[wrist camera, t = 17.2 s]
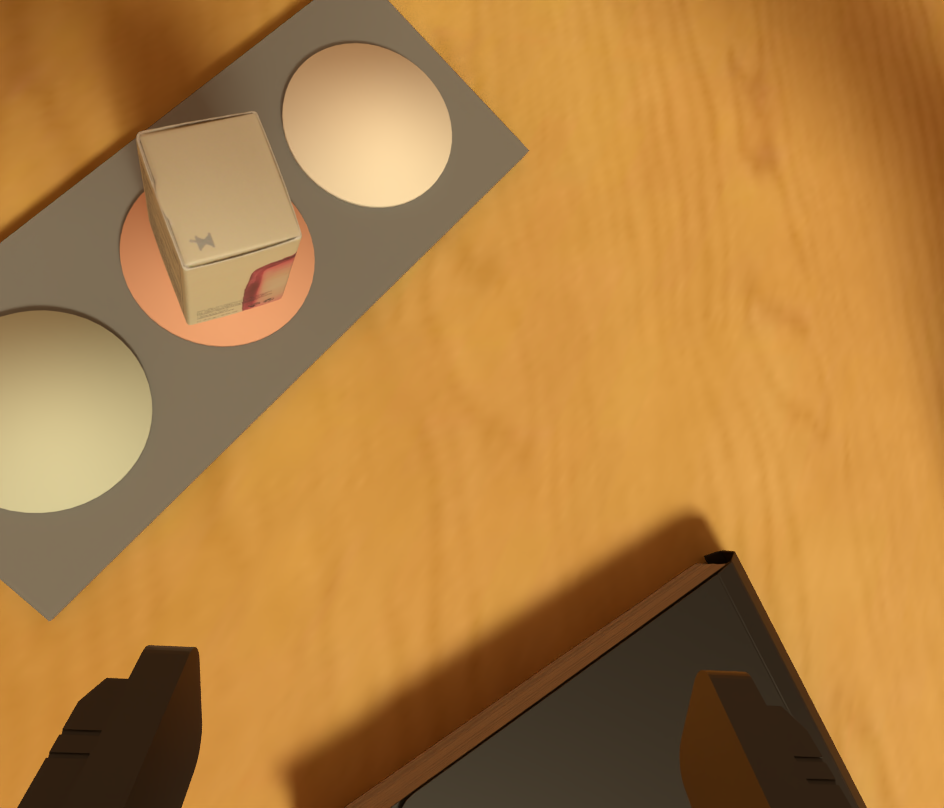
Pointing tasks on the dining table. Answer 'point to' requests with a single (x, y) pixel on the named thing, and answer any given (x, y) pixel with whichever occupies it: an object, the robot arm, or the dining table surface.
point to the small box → (219, 213)
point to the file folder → (614, 709)
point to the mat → (230, 337)
